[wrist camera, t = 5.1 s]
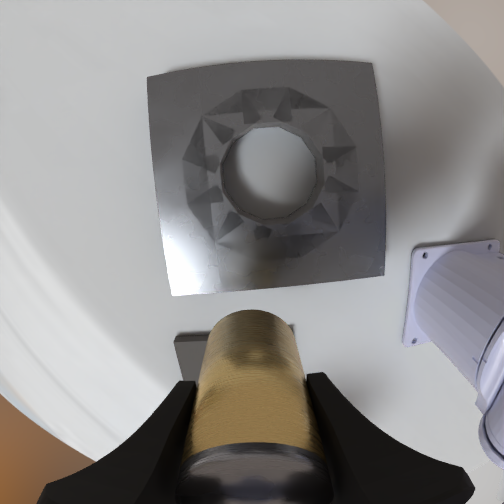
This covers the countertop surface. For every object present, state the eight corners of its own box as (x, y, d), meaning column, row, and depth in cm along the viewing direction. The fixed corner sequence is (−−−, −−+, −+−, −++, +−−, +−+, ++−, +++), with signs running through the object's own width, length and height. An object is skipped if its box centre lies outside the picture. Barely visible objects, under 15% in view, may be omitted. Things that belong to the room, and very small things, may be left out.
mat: (288, 328, 21) (290, 334, 20) (291, 408, 23) (292, 414, 22) (176, 336, 21) (173, 342, 20) (196, 413, 23) (195, 420, 22)
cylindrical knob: (297, 308, 13) (347, 459, 5) (293, 380, 14) (322, 525, 6) (203, 310, 13) (157, 463, 5) (211, 382, 14) (189, 528, 6)
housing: (360, 72, 16) (371, 63, 14) (372, 265, 19) (384, 275, 18) (156, 85, 16) (146, 77, 14) (179, 283, 20) (172, 295, 18)
